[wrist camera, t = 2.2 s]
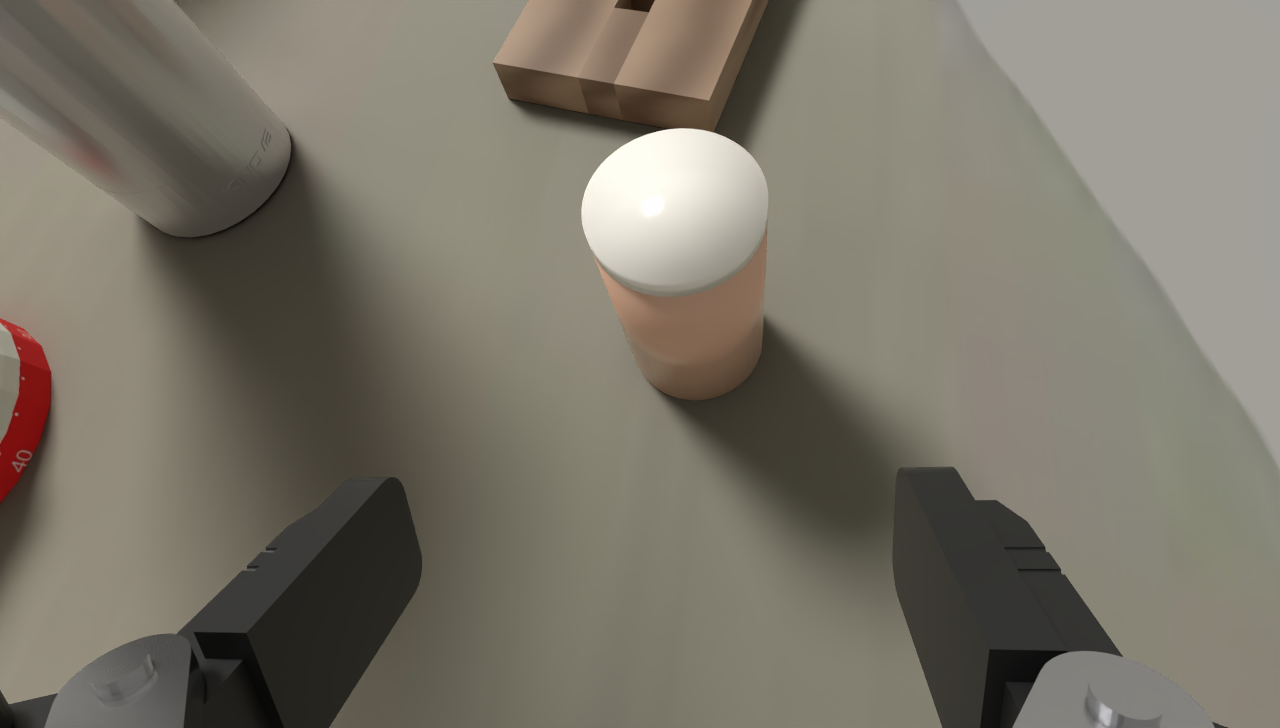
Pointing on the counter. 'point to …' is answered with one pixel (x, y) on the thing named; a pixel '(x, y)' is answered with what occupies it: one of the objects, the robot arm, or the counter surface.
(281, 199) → the counter surface
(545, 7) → the walnut board
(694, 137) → the terracotta canister
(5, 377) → the kitchen timer
